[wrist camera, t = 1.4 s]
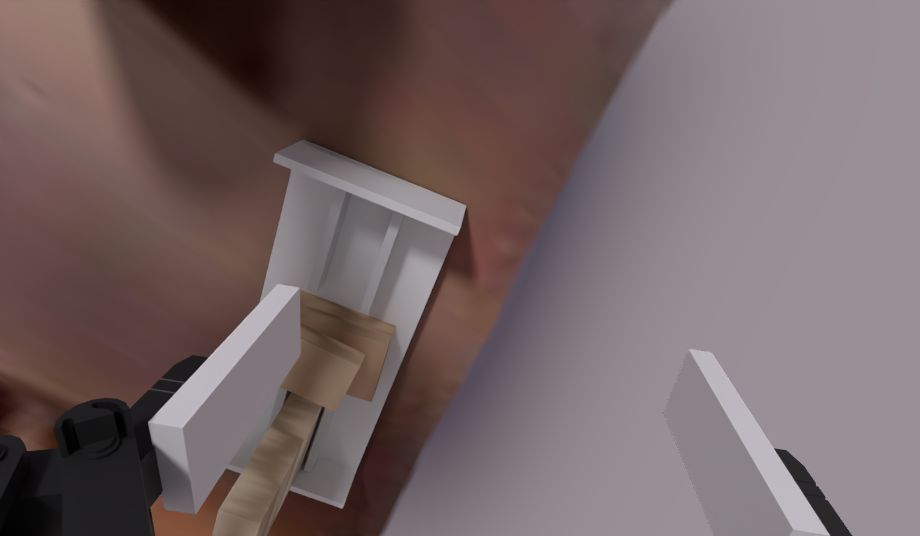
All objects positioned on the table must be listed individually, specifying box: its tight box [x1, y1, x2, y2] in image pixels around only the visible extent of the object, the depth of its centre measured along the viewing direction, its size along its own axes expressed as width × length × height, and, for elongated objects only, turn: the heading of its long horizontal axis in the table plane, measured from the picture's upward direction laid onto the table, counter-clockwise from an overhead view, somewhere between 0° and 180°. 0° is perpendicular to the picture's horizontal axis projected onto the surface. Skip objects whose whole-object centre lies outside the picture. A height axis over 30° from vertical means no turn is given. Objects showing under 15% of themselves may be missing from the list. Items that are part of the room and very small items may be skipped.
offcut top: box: [280, 323, 366, 412], centre depth 48 cm, size 9×6×2 cm
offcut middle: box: [300, 305, 393, 402], centre depth 49 cm, size 11×7×2 cm
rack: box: [227, 139, 466, 509], centre depth 50 cm, size 16×37×6 cm, turn 158°
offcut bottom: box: [284, 284, 396, 334], centre depth 51 cm, size 12×8×2 cm, turn 68°
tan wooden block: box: [212, 392, 324, 536], centre depth 49 cm, size 4×10×17 cm, turn 158°
